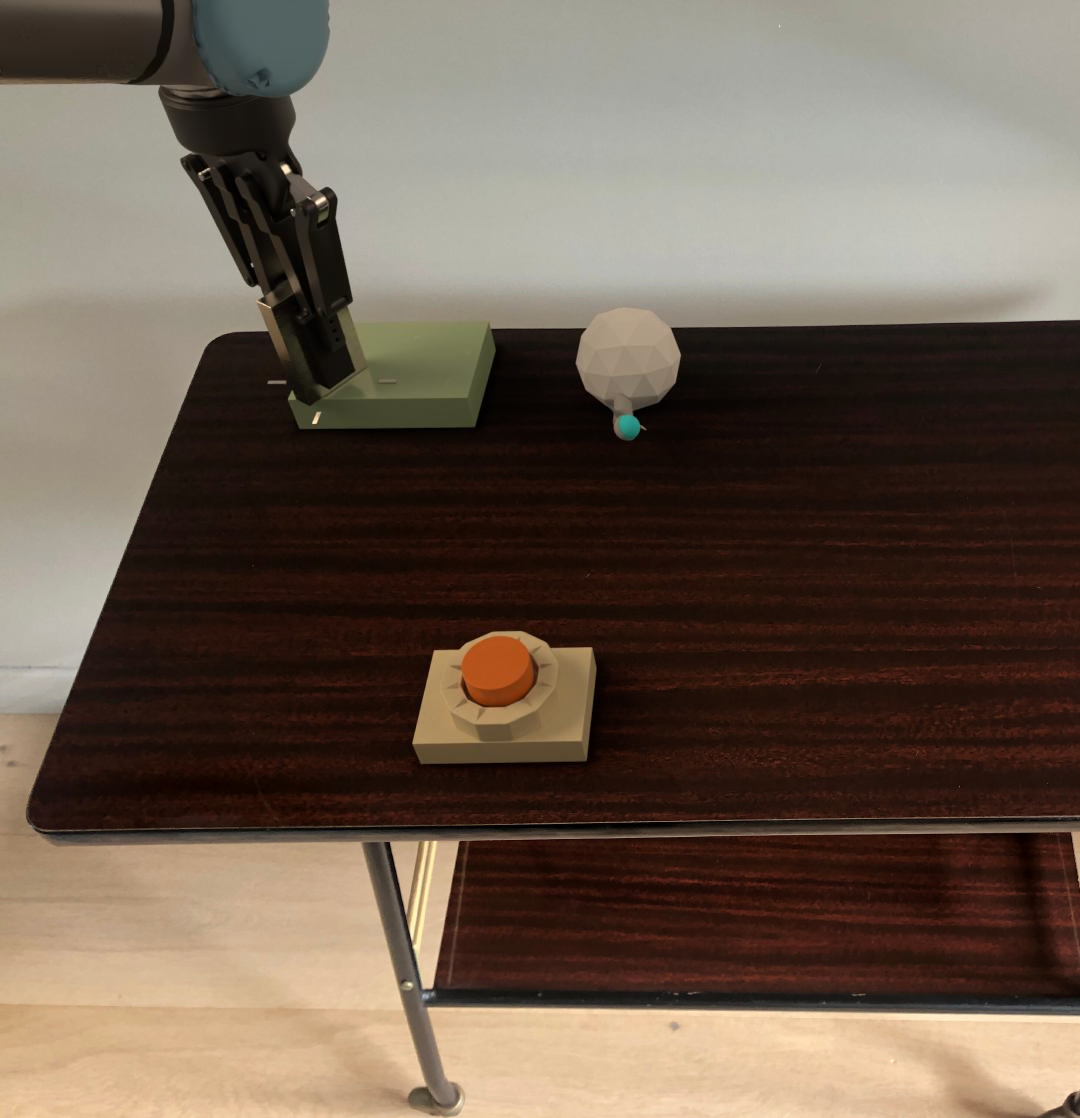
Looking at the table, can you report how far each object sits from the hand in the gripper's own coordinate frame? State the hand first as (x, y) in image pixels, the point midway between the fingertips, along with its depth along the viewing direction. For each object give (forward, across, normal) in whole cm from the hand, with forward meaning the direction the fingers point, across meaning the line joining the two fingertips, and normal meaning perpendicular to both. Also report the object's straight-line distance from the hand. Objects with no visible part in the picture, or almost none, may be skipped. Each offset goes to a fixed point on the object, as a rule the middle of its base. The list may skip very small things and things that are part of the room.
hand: (328, 373), depth 88 cm
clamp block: (+4, -2, -3) cm, 5 cm away
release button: (0, -31, +15) cm, 35 cm away
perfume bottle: (+4, -20, -12) cm, 24 cm away
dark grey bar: (+1, 0, 0) cm, 1 cm away
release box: (+4, -31, +15) cm, 35 cm away
